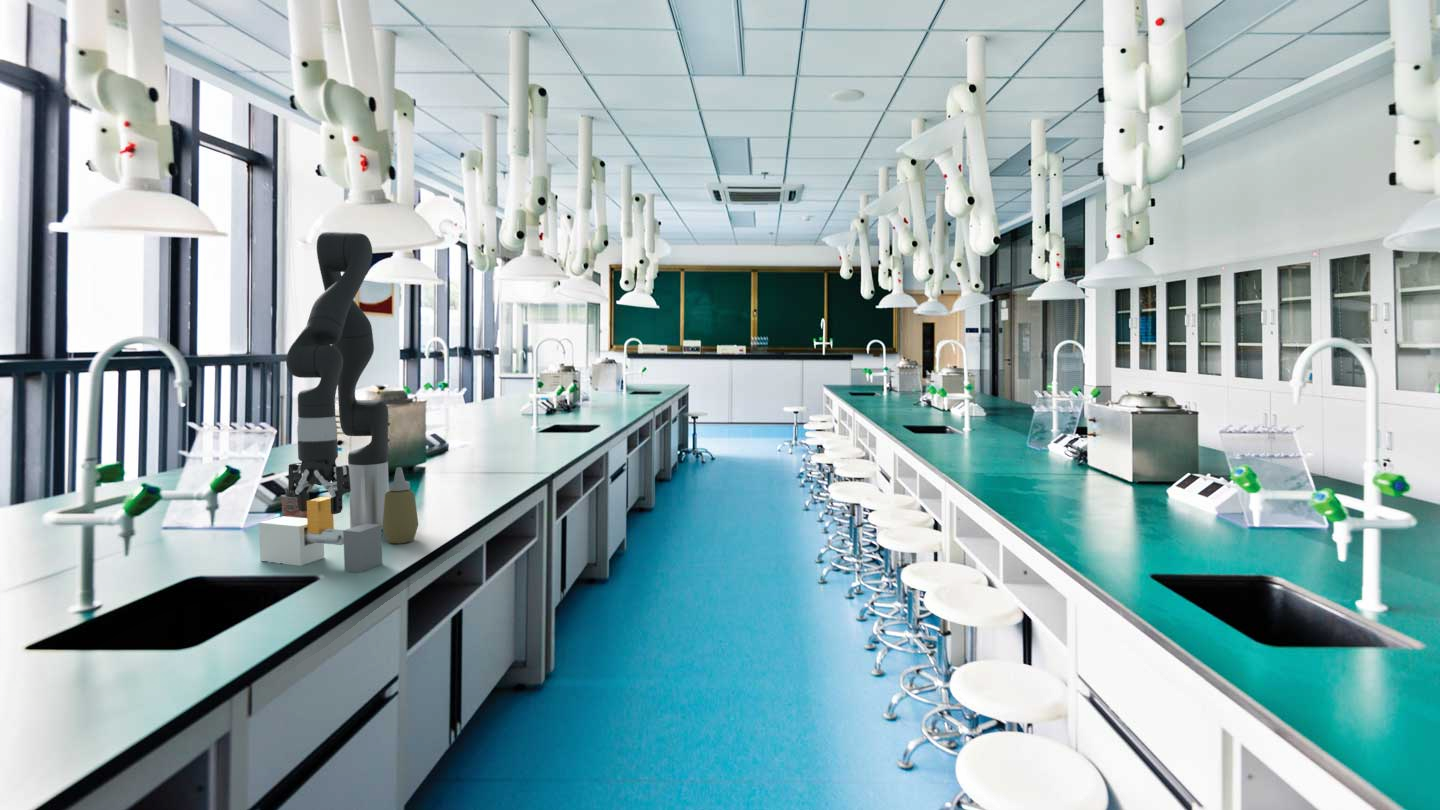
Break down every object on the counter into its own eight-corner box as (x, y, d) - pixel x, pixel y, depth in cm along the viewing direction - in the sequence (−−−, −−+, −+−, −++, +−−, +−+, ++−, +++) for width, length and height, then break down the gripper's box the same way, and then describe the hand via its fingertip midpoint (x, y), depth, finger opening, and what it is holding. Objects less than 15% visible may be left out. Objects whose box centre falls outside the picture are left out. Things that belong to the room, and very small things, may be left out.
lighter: (278, 524, 194) (276, 486, 193) (289, 521, 197) (287, 484, 197) (302, 526, 192) (300, 488, 191) (313, 523, 195) (311, 486, 194)
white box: (260, 561, 161) (258, 522, 160) (284, 553, 167) (283, 516, 166) (300, 565, 158) (299, 526, 157) (324, 557, 164) (323, 519, 163)
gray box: (344, 570, 155) (343, 530, 154) (367, 562, 161) (365, 523, 160) (360, 572, 154) (359, 532, 153) (382, 563, 160) (381, 524, 159)
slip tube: (268, 540, 161) (266, 497, 161) (283, 536, 165) (281, 493, 165) (334, 547, 157) (333, 502, 156) (349, 542, 160) (347, 499, 160)
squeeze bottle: (408, 535, 184) (406, 463, 183) (425, 540, 179) (423, 467, 178) (376, 541, 178) (374, 467, 176) (392, 547, 173) (390, 471, 171)
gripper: (358, 437, 160) (360, 510, 161) (305, 434, 164) (307, 506, 165) (331, 441, 153) (333, 518, 154) (276, 438, 157) (279, 513, 158)
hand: (320, 512), depth 159 cm, fingers open, 8 cm apart
